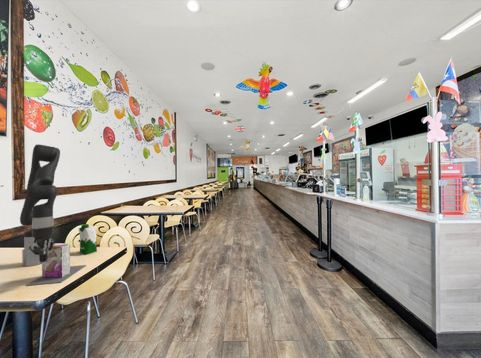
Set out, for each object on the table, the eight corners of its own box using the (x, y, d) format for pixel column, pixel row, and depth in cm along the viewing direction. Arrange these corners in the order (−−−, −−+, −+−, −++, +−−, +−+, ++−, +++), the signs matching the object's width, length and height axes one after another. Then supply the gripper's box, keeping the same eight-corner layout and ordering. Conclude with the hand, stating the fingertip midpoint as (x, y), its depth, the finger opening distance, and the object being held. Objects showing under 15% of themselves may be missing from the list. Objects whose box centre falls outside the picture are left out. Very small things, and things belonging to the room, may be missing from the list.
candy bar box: (41, 278, 101) (40, 246, 101) (51, 273, 106) (50, 243, 106) (61, 278, 100) (61, 246, 100) (70, 273, 105) (70, 242, 105)
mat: (25, 285, 94) (25, 285, 94) (57, 268, 114) (57, 267, 114) (61, 282, 96) (61, 281, 96) (86, 265, 116) (86, 264, 116)
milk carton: (77, 254, 136) (76, 225, 136) (90, 249, 145) (90, 222, 145) (86, 255, 133) (85, 225, 133) (99, 250, 142) (99, 223, 142)
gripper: (45, 223, 102) (45, 257, 102) (21, 229, 89) (21, 268, 88) (61, 222, 103) (62, 256, 103) (40, 228, 90) (40, 266, 90)
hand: (43, 261), depth 96 cm, fingers closed
